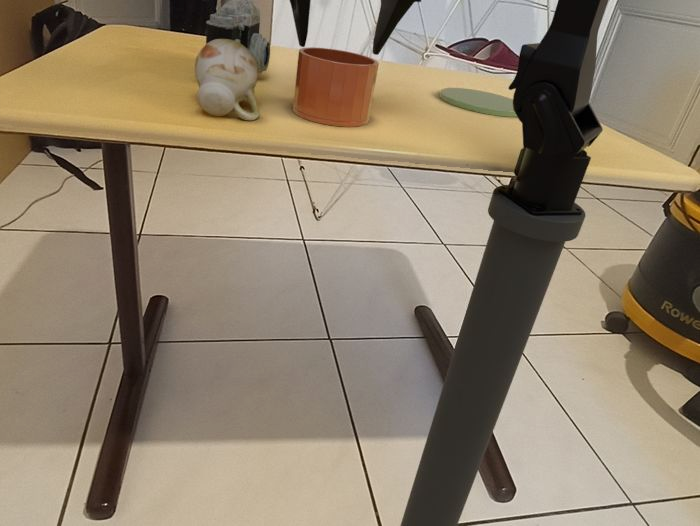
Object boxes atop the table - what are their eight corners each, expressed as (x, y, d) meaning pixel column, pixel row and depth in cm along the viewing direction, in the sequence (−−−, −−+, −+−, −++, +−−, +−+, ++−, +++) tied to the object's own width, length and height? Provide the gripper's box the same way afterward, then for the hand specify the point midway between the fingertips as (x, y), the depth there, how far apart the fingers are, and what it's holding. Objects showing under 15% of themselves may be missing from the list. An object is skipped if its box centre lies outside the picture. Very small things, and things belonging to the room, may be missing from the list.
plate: (544, 119, 87) (545, 114, 86) (467, 114, 82) (469, 108, 81) (494, 95, 98) (495, 91, 98) (424, 89, 93) (425, 84, 92)
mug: (180, 119, 59) (172, 23, 59) (210, 137, 68) (204, 55, 68) (249, 112, 58) (242, 16, 58) (270, 132, 68) (264, 49, 68)
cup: (380, 128, 67) (391, 68, 64) (305, 124, 64) (312, 60, 60) (352, 106, 75) (361, 52, 71) (284, 102, 71) (290, 44, 68)
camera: (250, 91, 73) (256, 9, 68) (200, 82, 73) (202, -1, 68) (274, 72, 86) (280, 2, 81) (231, 64, 86) (234, -7, 81)
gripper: (407, -90, 68) (384, 45, 75) (255, -123, 61) (246, 29, 68) (452, -90, 59) (421, 63, 66) (281, -129, 52) (267, 47, 59)
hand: (339, 50), depth 65 cm, fingers open, 9 cm apart
